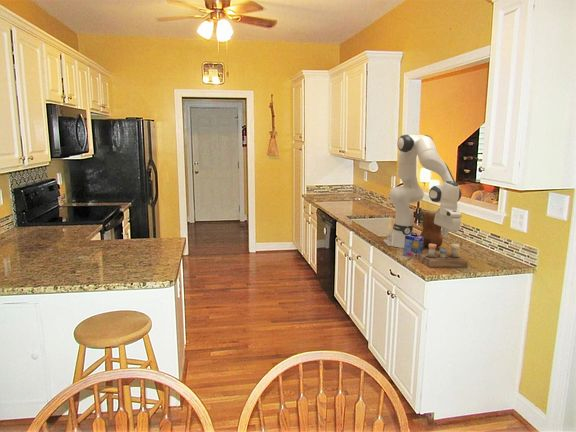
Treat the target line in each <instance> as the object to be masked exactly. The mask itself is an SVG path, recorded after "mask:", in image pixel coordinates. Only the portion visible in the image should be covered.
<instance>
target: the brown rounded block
mask: <svg viewBox="0 0 576 432" xmlns="http://www.w3.org/2000/svg"><path fill="white" fill-rule="evenodd" d="M436 212H437V210H434V209H427V210H425V212H424V215H423V222H422V230H421V233H420V235H419V236H421V237H424V244H423V247H424V248H428V249H429V244H430V243H432V244H436V249H437V248H438V249H439V248H441V246H442V245H443V240H444V239H443V238H444V237H443V235H442V229H441V226H439V225H436V224H434V218H435V214H436Z"/></svg>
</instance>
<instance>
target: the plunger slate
mask: <svg viewBox="0 0 576 432" xmlns="http://www.w3.org/2000/svg"><path fill="white" fill-rule="evenodd" d="M439 254H440V258H446V254H448V248H444V247H439Z"/></svg>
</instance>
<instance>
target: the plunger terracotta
mask: <svg viewBox="0 0 576 432" xmlns="http://www.w3.org/2000/svg"><path fill="white" fill-rule="evenodd" d="M436 249H437V248H436V244H432V243H430V244H429V248H428V253H427V254H428V257H434V256H435V254H436Z"/></svg>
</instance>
